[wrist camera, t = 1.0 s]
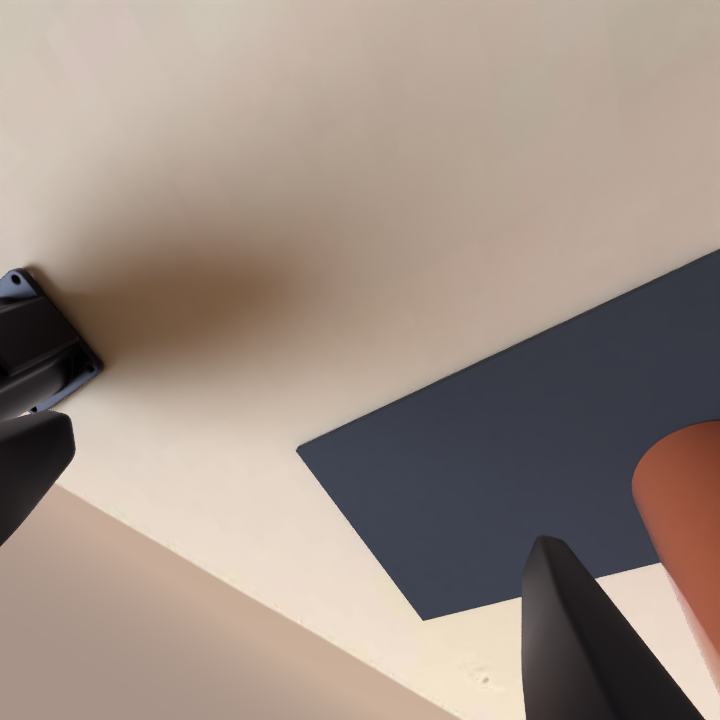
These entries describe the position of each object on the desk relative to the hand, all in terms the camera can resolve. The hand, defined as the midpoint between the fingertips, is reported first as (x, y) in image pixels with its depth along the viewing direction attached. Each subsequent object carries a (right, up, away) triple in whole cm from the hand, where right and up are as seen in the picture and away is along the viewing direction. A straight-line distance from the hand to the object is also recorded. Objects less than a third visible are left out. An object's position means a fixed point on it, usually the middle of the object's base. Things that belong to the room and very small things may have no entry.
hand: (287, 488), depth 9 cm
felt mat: (+10, -3, +14) cm, 17 cm away
